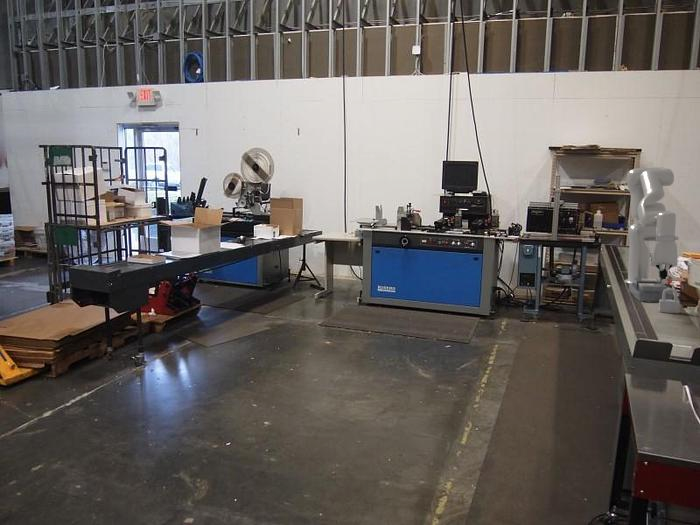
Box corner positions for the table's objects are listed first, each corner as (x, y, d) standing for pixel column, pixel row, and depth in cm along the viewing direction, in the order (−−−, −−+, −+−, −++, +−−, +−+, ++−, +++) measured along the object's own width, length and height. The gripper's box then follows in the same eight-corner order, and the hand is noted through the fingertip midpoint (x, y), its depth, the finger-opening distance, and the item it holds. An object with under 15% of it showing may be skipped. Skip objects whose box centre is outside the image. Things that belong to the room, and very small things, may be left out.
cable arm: (656, 288, 266) (657, 267, 265) (663, 288, 265) (665, 267, 264) (669, 299, 241) (670, 277, 240) (677, 299, 240) (678, 277, 239)
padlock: (659, 312, 222) (660, 288, 221) (658, 310, 226) (659, 287, 224) (679, 313, 219) (680, 289, 217) (678, 311, 222) (679, 288, 221)
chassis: (628, 290, 267) (629, 276, 266) (658, 291, 263) (659, 277, 262) (639, 301, 243) (639, 286, 242) (671, 302, 238) (672, 287, 237)
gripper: (681, 238, 247) (679, 277, 249) (645, 238, 251) (643, 277, 254) (686, 240, 239) (683, 280, 242) (648, 240, 244) (646, 279, 247)
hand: (663, 278), depth 248 cm, fingers closed
